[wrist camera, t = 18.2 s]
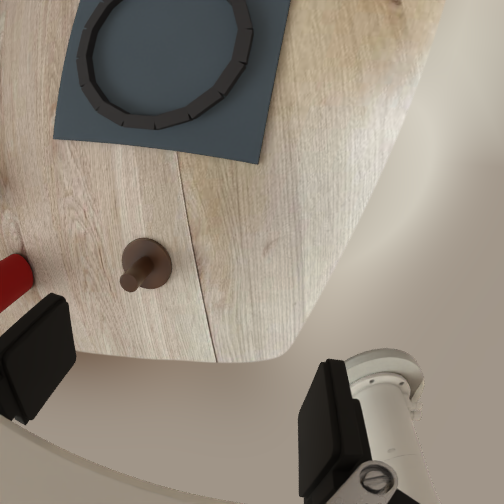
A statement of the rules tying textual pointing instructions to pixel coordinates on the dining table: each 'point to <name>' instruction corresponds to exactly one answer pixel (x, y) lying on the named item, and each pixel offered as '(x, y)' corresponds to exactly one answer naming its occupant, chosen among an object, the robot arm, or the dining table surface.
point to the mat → (174, 75)
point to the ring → (171, 117)
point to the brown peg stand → (145, 265)
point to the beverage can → (14, 279)
